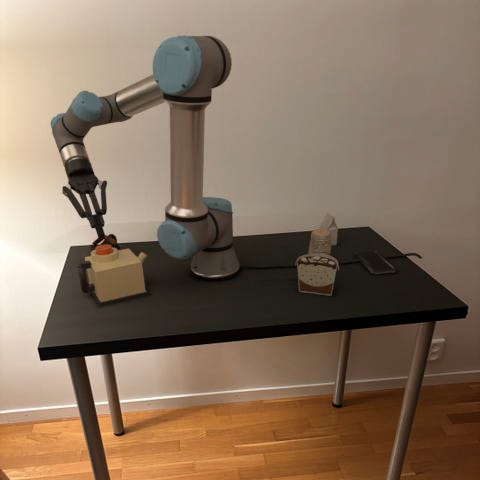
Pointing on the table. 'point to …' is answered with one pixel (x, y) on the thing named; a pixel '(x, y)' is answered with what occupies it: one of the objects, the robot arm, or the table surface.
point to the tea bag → (330, 227)
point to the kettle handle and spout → (91, 287)
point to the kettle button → (104, 249)
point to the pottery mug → (106, 242)
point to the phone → (375, 263)
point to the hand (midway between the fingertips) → (101, 236)
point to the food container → (316, 273)
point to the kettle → (115, 274)
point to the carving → (320, 242)
